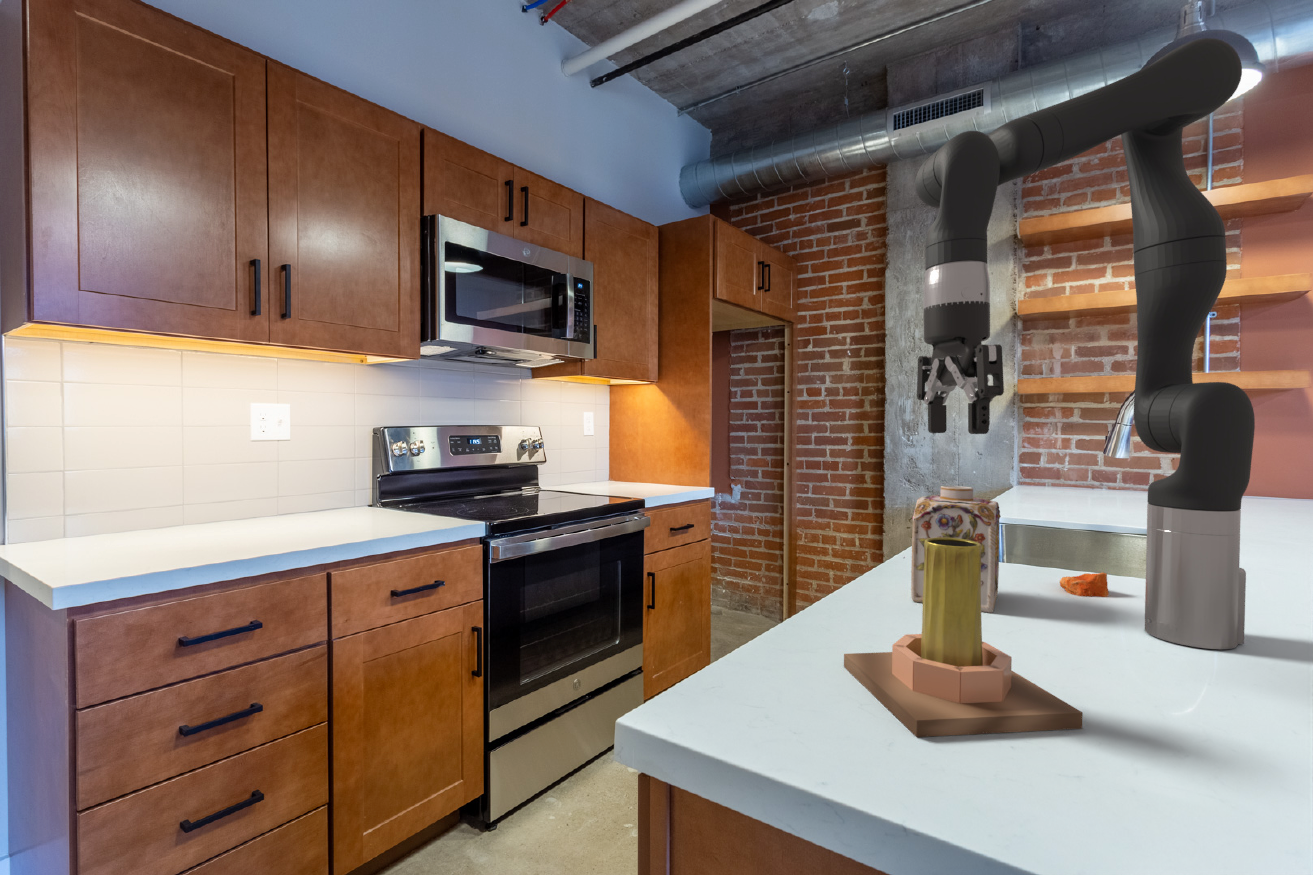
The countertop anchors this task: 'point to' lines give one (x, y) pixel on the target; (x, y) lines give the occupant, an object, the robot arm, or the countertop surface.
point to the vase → (952, 602)
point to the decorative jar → (958, 535)
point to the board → (961, 704)
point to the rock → (1086, 585)
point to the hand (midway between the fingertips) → (956, 433)
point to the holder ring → (952, 673)
